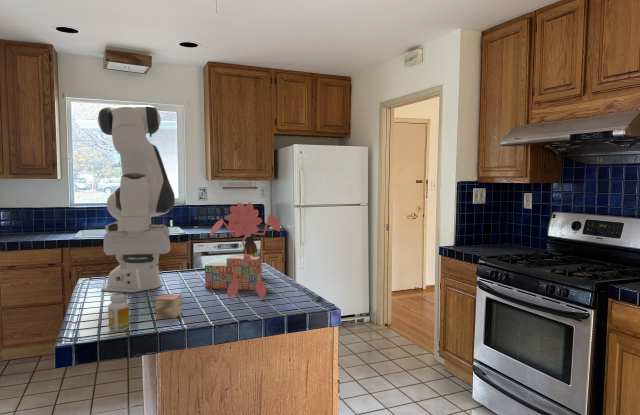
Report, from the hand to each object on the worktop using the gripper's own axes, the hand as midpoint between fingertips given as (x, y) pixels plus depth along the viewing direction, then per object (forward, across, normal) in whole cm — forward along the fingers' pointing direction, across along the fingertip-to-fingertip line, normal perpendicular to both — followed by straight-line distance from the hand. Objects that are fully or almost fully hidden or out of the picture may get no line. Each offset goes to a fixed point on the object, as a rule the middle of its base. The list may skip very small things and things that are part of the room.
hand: (138, 268), depth 142 cm
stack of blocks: (+15, -22, -37) cm, 46 cm away
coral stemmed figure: (+16, -30, -18) cm, 38 cm away
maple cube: (+15, -9, 0) cm, 18 cm away
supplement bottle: (+16, +1, +12) cm, 20 cm away
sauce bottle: (+15, -25, -58) cm, 65 cm away
